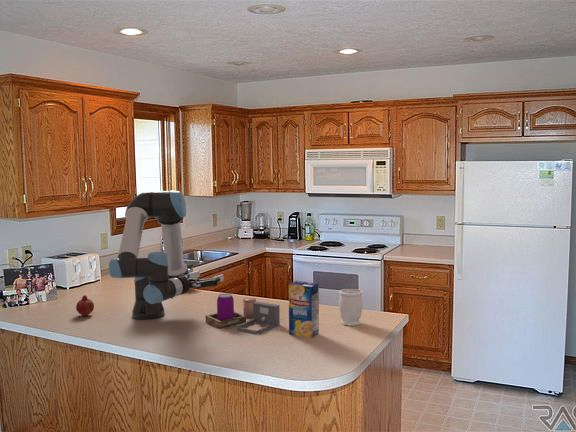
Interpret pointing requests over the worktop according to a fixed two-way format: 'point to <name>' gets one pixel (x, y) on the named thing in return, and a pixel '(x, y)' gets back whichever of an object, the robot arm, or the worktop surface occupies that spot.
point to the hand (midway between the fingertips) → (210, 275)
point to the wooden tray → (225, 323)
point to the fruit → (85, 306)
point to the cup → (248, 307)
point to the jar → (350, 306)
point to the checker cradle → (262, 317)
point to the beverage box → (304, 309)
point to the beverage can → (225, 307)
